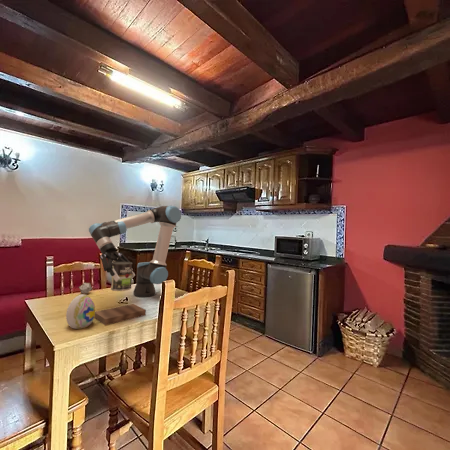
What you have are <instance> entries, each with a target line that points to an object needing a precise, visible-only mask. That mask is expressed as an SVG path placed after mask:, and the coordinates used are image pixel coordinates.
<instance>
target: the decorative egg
mask: <svg viewBox="0 0 450 450" xmlns="http://www.w3.org/2000/svg"><path fill="white" fill-rule="evenodd" d="M66 309H67V310H66V313H65V316H66V317H65V319H66V323H67V325H68V326H69V327H70V328H71V329H74V330H75V329H76V330H79V329H80V330H81V329H85V328H87V327H90V325H92V323H93V321H94V320H95V318H94V317H95V312H96V306H95V303H94V301H93V299H92V298H91V297H90V296H89V295H88V294H85V293H80V294H79V295H76V296H75V297H74V298H73V299H72V300H71V302H69V305H68V307H67V308H66Z"/></svg>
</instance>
